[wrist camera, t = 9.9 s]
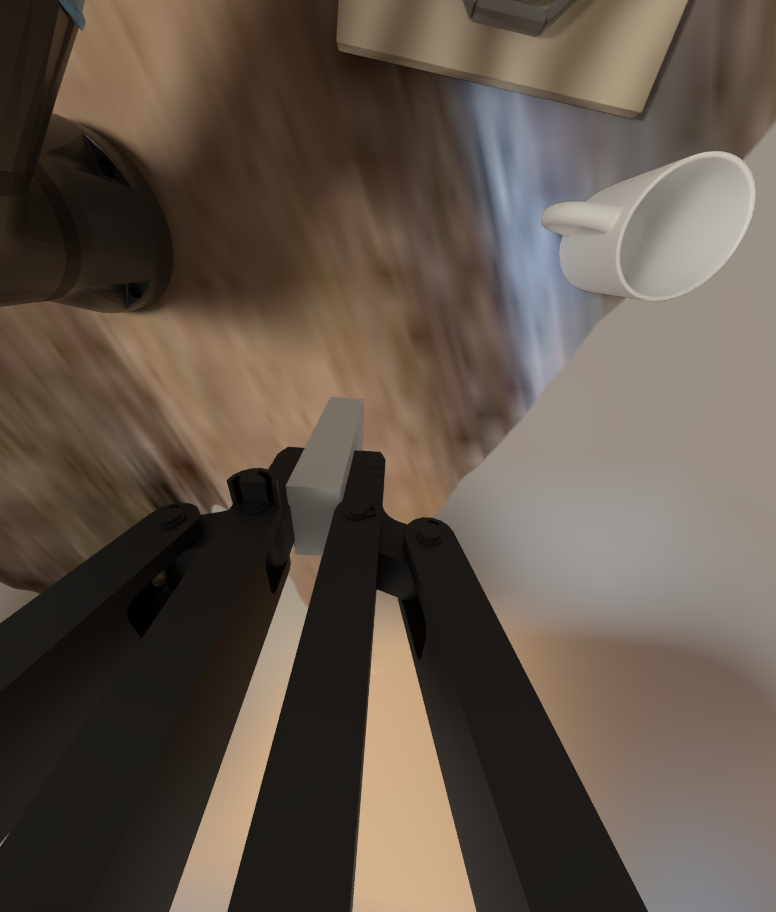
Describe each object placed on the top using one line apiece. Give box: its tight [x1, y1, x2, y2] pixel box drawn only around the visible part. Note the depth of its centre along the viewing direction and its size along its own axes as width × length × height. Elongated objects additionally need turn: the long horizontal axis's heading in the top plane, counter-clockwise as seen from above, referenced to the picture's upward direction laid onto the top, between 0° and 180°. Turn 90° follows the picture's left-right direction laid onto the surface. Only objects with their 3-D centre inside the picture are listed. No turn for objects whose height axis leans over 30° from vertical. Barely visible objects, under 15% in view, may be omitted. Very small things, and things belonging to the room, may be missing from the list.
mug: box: [541, 151, 756, 301], centre depth 26 cm, size 12×8×10 cm
